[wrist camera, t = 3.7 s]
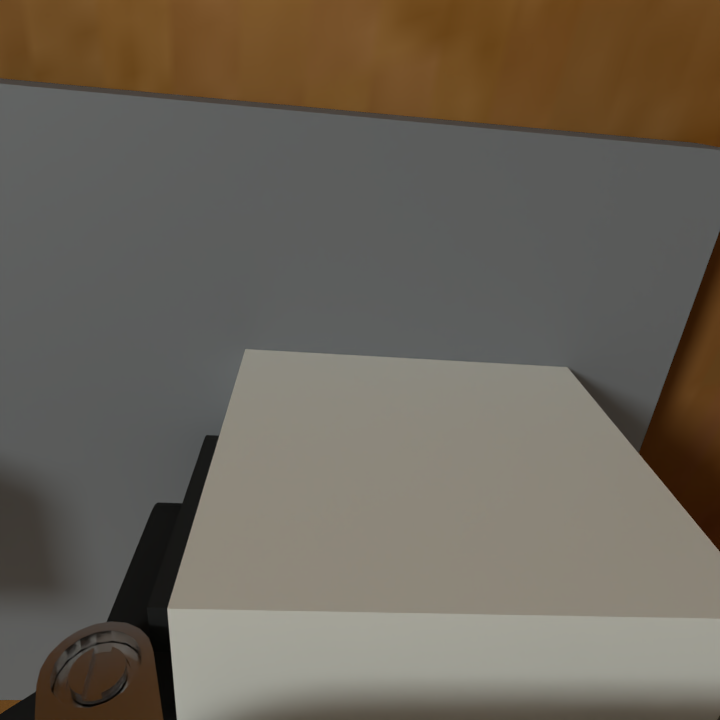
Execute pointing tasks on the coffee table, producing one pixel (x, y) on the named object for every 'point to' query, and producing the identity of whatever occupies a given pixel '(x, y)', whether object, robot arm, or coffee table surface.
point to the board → (290, 291)
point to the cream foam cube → (437, 554)
